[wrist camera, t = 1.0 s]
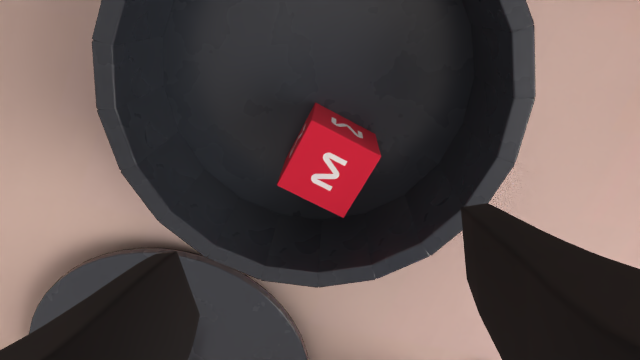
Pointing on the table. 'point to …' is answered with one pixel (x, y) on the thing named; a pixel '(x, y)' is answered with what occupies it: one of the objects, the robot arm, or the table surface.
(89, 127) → the table surface
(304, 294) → the table surface
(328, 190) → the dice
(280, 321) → the lid
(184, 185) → the pot
